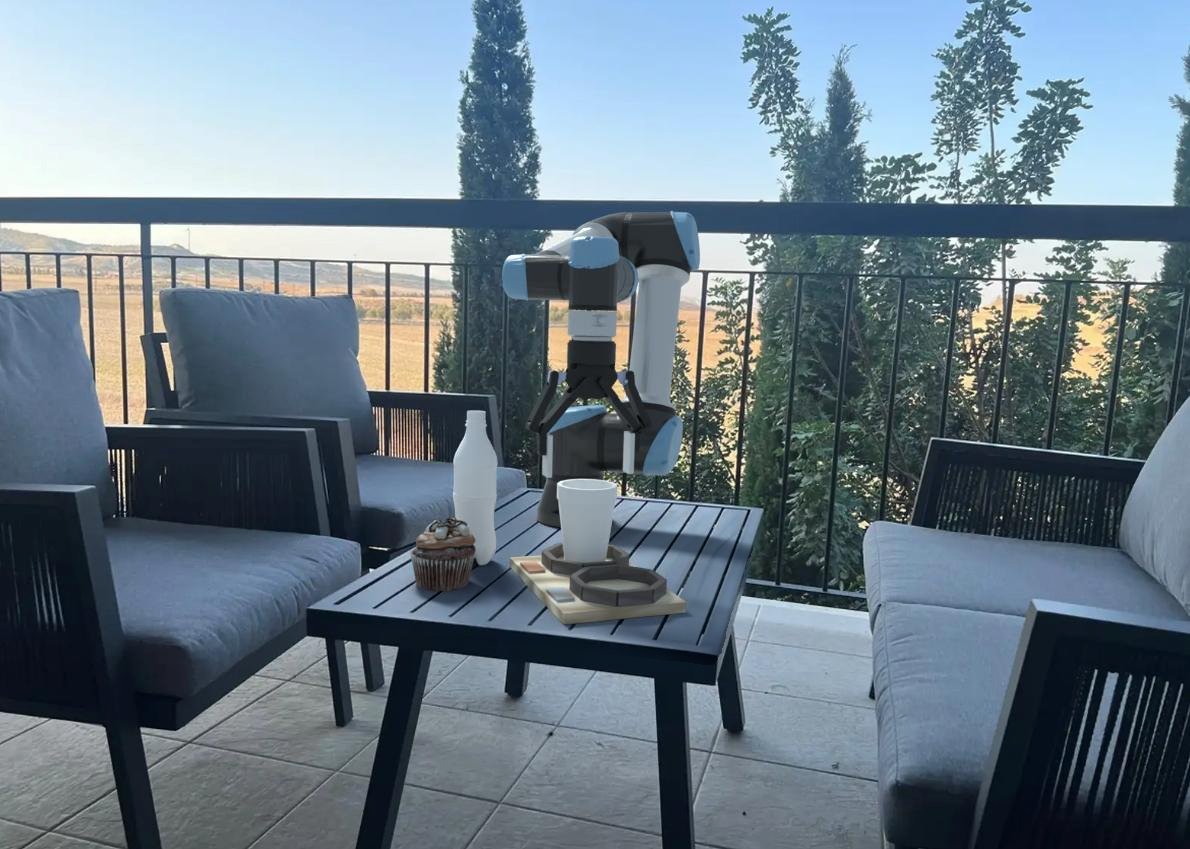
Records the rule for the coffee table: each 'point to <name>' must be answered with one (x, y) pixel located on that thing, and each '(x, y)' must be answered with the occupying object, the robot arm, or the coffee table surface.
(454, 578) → the cupcake
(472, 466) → the water bottle
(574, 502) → the foam cup
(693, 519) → the coffee table surface
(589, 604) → the socket board
